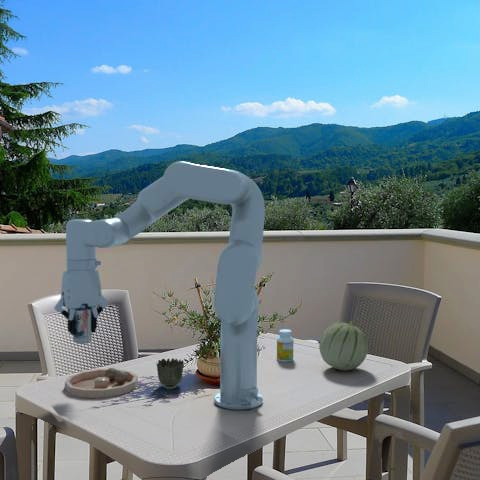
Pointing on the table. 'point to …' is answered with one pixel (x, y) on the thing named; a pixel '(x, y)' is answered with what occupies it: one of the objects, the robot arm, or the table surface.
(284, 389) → the table surface
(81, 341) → the beer can
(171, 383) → the cup
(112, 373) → the bead
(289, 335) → the supplement bottle
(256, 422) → the table surface
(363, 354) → the cantaloupe
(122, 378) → the bead
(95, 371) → the saucer
